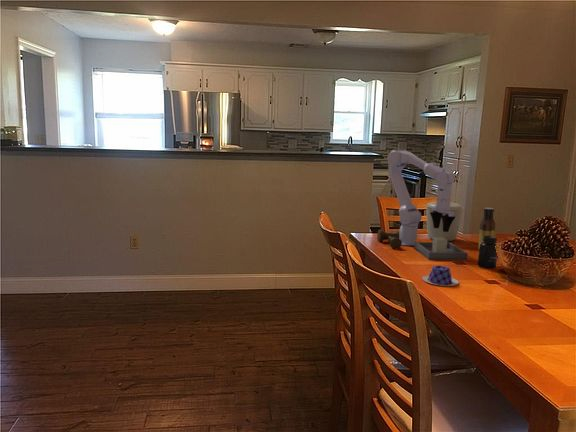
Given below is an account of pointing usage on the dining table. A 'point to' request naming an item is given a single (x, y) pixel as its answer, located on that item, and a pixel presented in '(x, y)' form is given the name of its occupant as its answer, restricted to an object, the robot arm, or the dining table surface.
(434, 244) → the beige block
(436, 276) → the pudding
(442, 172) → the robot arm
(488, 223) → the sauce bottle
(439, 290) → the dining table surface
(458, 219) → the canister
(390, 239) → the kendama
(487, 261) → the supplement bottle
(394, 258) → the dining table surface
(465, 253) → the tray
